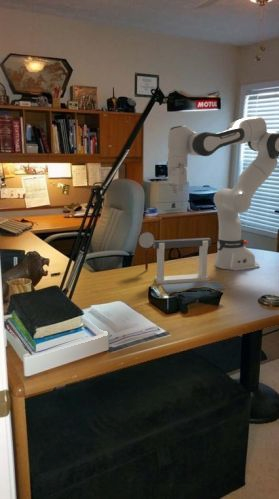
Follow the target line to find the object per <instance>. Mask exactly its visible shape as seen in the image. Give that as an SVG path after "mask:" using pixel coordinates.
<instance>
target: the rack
mask: <svg viewBox="0 0 279 499" xmlns="http://www.w3.org/2000/svg"><path fill="white" fill-rule="evenodd" d="M198 247H199V248H198V250H199V254H198V273H192V274H180V275H179V274H178V275H175V274H174V275H165V249H166V248H165V243H159V248H158V249H156V276H154V281H155V282H156V283H157V285H160V284H161V285H164V284H179V283H193V282H208V281H210V276H208V274H207V272H208V249H209V246H208V241H202V246H198Z"/></svg>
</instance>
